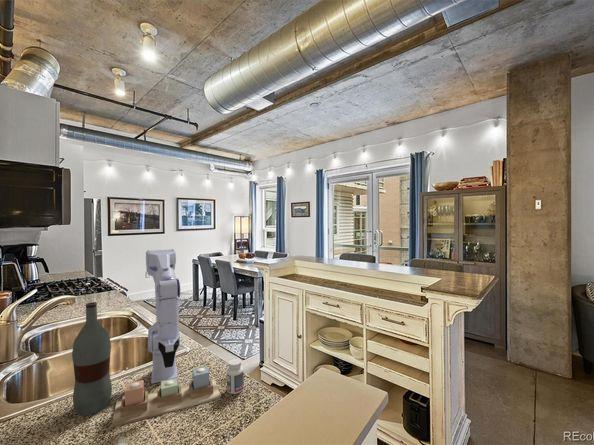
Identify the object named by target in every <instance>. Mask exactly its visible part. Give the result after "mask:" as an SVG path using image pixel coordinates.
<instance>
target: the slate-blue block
mask: <svg viewBox="0 0 594 445" xmlns="http://www.w3.org/2000/svg"><path fill="white" fill-rule="evenodd" d="M209 376H210V370H209V367H208V365H206V366H201V367H196V368H192V380H193V387H194V389H198V388H202V387H206V386H209Z"/></svg>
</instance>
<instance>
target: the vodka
mask: <svg viewBox="0 0 594 445" xmlns="http://www.w3.org/2000/svg"><path fill="white" fill-rule="evenodd" d="M97 304H98V303H97V302H96V301H93V302H91V301H90V302H87V303H85V324H84V325H83V326H82V328H81V329H80V331H79V332H78V334H77V336H76V337H75V338H74V341H73V345H72V352H71V358H72V364H73V371H74V372H73V373H74V387H73V392H72V393H73V394H72V405H73V409H74V412H75V414H76V415H77V416H82V417H84V416H85V417H86V416H91V415H94V414H97V413H99V412H102V411H103V410H104V409H107V407H109V405H110V403H111V399H112V390H113V388H112V380H111V375H110V362H111V351H112V344H111V337H110V334H109V332H108V331H107V330H106V329H105V327H104V326H103V325H102V324H101V323H100V322H99V321H98V308H97V306H98V305H97Z"/></svg>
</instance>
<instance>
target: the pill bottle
mask: <svg viewBox="0 0 594 445" xmlns="http://www.w3.org/2000/svg"><path fill="white" fill-rule="evenodd" d="M227 366H228V368H227V369H226V392H227V393H228V394H231V395H236V394H240V393H241V392H243V391H244V388H245V385H244V380H245V379H244V373H245V372H244V367H243V366H242V360H241V359H239V358H233V359H230V360H228V363H227Z"/></svg>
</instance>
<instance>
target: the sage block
mask: <svg viewBox="0 0 594 445" xmlns="http://www.w3.org/2000/svg"><path fill="white" fill-rule="evenodd" d="M177 383H178V377H177V378H174V379H170V380H165V381H161V382H160V387H161V398H162V397H166V396H170V395H174V394H178V384H177Z"/></svg>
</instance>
